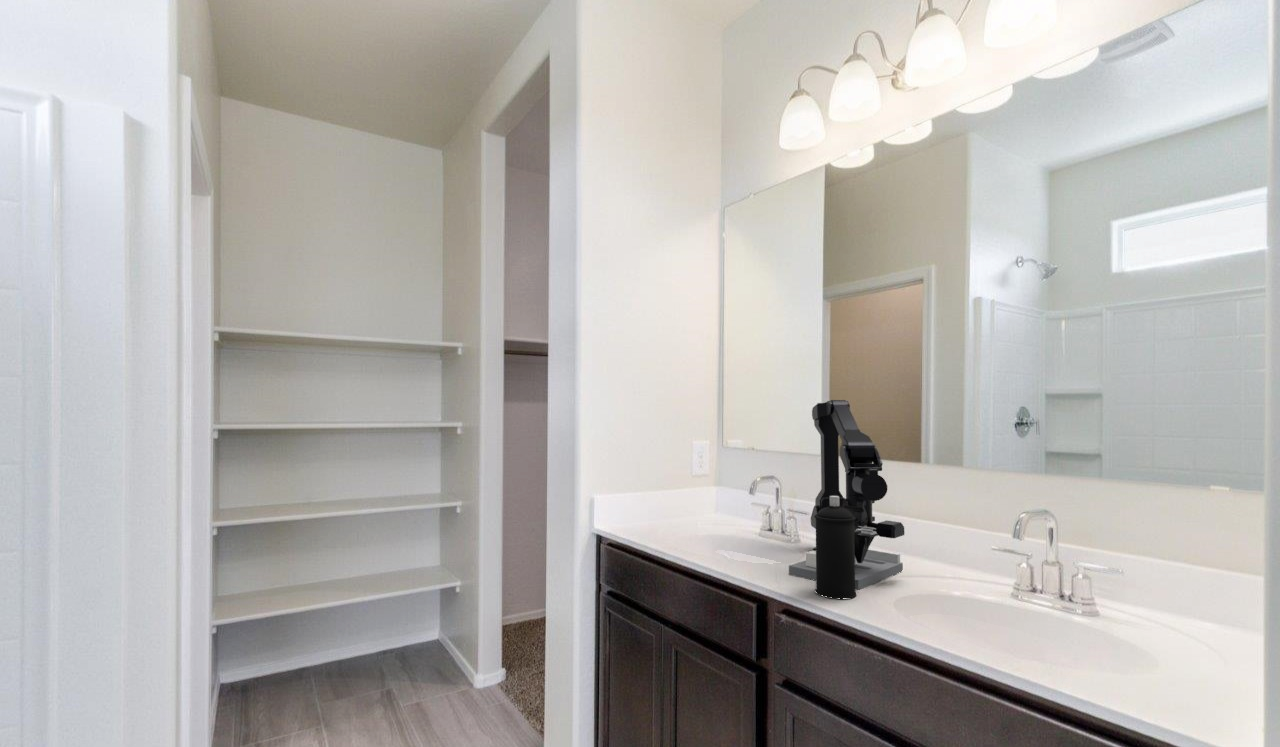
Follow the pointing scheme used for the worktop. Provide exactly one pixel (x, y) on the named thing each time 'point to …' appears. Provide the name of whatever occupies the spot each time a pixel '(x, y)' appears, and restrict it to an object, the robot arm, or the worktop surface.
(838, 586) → the aerosol can
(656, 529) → the worktop surface
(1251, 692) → the worktop surface
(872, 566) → the breaker panel
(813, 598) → the worktop surface
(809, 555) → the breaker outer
